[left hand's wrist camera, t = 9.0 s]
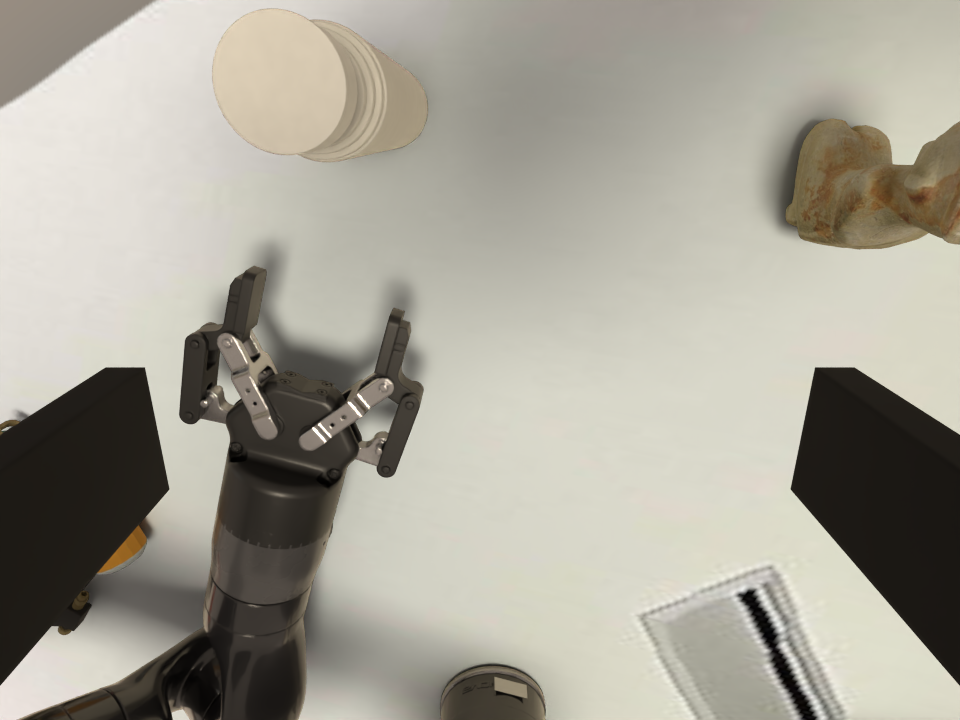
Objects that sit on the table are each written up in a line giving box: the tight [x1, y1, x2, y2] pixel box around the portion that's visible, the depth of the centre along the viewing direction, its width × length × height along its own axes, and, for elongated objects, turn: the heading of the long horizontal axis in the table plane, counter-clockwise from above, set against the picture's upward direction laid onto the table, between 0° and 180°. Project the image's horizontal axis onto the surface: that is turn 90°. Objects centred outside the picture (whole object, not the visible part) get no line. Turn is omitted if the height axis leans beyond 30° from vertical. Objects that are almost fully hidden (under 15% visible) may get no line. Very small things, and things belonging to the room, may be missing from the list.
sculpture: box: [786, 119, 960, 249], centre depth 33 cm, size 6×7×15 cm
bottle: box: [298, 20, 428, 162], centre depth 29 cm, size 5×5×22 cm
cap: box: [212, 9, 358, 155], centre depth 19 cm, size 4×4×2 cm
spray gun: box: [0, 420, 147, 635], centre depth 48 cm, size 4×17×15 cm
